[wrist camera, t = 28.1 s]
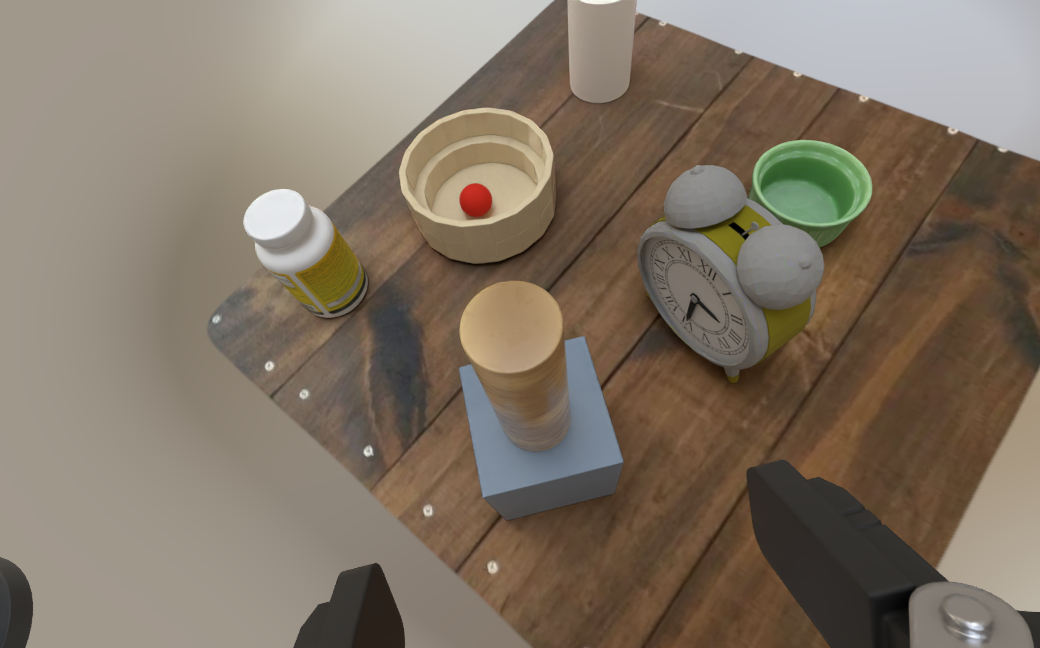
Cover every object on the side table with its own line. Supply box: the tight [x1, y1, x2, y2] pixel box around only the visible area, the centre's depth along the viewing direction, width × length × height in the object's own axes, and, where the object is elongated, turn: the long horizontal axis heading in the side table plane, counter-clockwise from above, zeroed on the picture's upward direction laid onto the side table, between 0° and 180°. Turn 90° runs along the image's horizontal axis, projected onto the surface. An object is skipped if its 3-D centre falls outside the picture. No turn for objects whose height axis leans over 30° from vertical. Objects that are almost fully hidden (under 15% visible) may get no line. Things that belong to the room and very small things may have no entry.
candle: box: [568, 0, 637, 103], centre depth 51 cm, size 6×6×15 cm
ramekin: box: [748, 140, 872, 248], centre depth 45 cm, size 9×9×4 cm
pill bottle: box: [244, 189, 368, 318], centre depth 44 cm, size 6×6×11 cm
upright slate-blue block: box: [459, 336, 624, 520], centre depth 36 cm, size 8×8×10 cm
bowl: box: [399, 108, 556, 264], centre depth 49 cm, size 13×13×6 cm
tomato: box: [459, 183, 492, 217], centre depth 49 cm, size 3×3×3 cm
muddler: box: [460, 281, 571, 452], centre depth 26 cm, size 4×4×12 cm
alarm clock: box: [637, 165, 824, 383], centre depth 37 cm, size 12×7×15 cm, turn 34°
